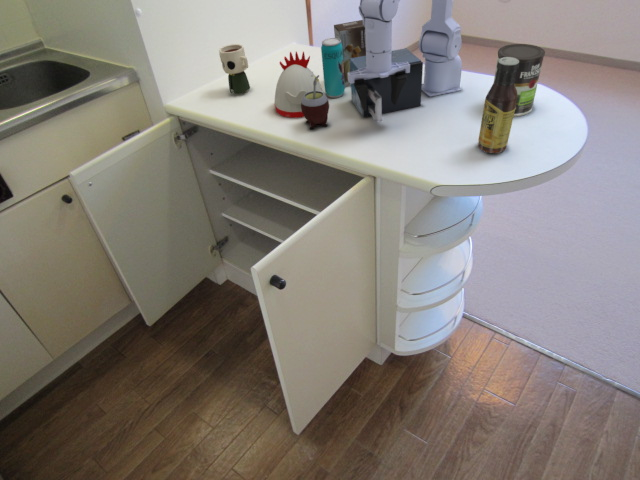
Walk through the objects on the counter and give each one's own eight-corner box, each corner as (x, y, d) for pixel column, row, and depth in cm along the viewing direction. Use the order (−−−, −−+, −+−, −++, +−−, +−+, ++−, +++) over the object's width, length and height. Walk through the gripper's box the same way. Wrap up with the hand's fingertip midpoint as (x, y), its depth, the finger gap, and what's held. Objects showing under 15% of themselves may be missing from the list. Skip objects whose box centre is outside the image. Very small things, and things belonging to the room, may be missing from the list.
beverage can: (343, 99, 131) (340, 44, 121) (323, 99, 132) (318, 45, 122) (346, 90, 135) (343, 37, 125) (327, 90, 136) (322, 37, 126)
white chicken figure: (323, 116, 124) (318, 59, 114) (273, 119, 125) (263, 64, 116) (325, 94, 135) (320, 40, 125) (278, 97, 136) (270, 44, 126)
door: (431, 116, 118) (434, 72, 110) (372, 129, 116) (371, 84, 108) (419, 104, 124) (421, 61, 116) (362, 116, 122) (361, 72, 114)
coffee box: (366, 74, 143) (364, 18, 132) (372, 81, 138) (371, 25, 127) (337, 79, 142) (333, 24, 131) (343, 87, 137) (339, 30, 126)
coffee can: (541, 108, 116) (555, 51, 107) (510, 120, 113) (521, 62, 104) (510, 95, 123) (521, 40, 114) (480, 106, 120) (488, 50, 111)
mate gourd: (312, 116, 125) (306, 60, 115) (338, 121, 121) (334, 63, 111) (297, 129, 120) (289, 71, 110) (324, 134, 117) (318, 75, 107)
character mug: (219, 93, 142) (209, 49, 134) (235, 84, 146) (226, 41, 138) (245, 99, 137) (235, 55, 128) (261, 90, 141) (253, 46, 132)
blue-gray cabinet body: (419, 104, 124) (421, 60, 116) (362, 116, 122) (360, 71, 114) (405, 90, 131) (406, 48, 124) (351, 101, 129) (349, 58, 122)
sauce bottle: (473, 142, 107) (485, 55, 94) (500, 139, 107) (516, 51, 94) (483, 157, 102) (497, 67, 89) (511, 153, 102) (530, 63, 89)
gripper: (352, 60, 100) (355, 118, 109) (416, 48, 102) (413, 107, 111) (343, 50, 105) (347, 106, 114) (404, 39, 107) (402, 95, 116)
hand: (379, 106), depth 113 cm, fingers open, 7 cm apart
